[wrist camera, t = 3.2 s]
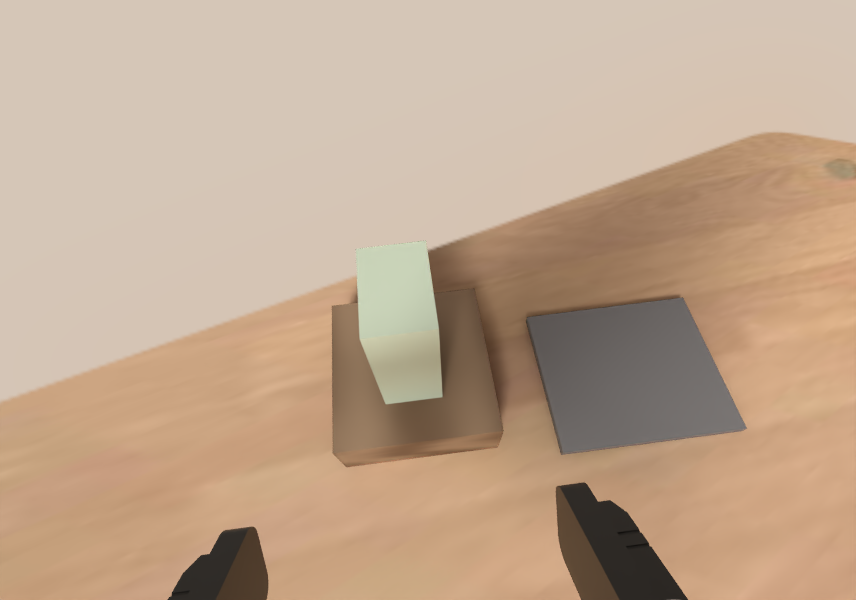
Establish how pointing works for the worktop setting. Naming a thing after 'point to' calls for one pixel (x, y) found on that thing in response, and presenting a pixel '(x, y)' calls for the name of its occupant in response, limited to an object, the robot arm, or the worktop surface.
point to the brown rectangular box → (422, 419)
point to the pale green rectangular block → (399, 321)
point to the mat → (629, 376)
